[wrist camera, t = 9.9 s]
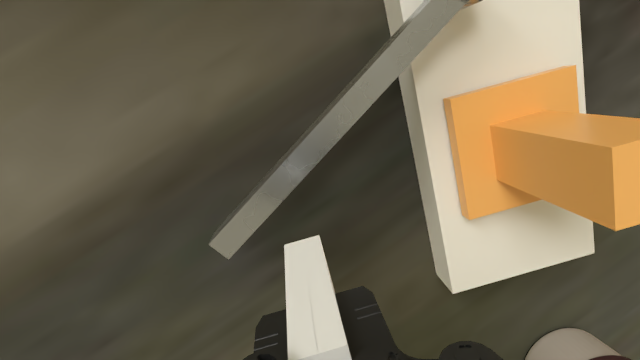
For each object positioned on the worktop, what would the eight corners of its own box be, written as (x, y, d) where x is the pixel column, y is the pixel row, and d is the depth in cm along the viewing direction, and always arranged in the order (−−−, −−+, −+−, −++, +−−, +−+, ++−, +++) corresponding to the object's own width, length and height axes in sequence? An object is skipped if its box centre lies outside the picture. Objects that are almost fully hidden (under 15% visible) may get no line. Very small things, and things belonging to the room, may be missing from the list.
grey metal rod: (456, -52, 20) (475, -67, 18) (486, -15, 20) (508, -26, 18) (207, 224, 22) (199, 238, 20) (240, 250, 23) (236, 265, 21)
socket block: (373, -52, 23) (393, -82, 19) (536, -94, 24) (590, -132, 20) (436, 274, 30) (461, 304, 26) (564, 237, 30) (609, 261, 26)
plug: (423, 97, 26) (553, 106, 14) (548, 63, 26) (788, 41, 14) (441, 200, 28) (569, 291, 16) (557, 168, 29) (772, 231, 16)
